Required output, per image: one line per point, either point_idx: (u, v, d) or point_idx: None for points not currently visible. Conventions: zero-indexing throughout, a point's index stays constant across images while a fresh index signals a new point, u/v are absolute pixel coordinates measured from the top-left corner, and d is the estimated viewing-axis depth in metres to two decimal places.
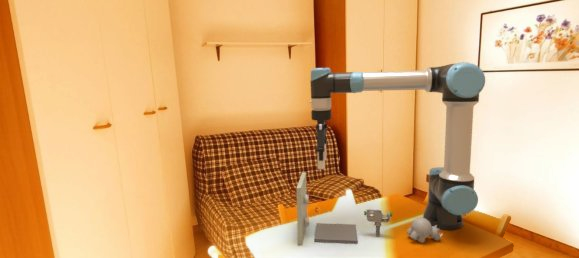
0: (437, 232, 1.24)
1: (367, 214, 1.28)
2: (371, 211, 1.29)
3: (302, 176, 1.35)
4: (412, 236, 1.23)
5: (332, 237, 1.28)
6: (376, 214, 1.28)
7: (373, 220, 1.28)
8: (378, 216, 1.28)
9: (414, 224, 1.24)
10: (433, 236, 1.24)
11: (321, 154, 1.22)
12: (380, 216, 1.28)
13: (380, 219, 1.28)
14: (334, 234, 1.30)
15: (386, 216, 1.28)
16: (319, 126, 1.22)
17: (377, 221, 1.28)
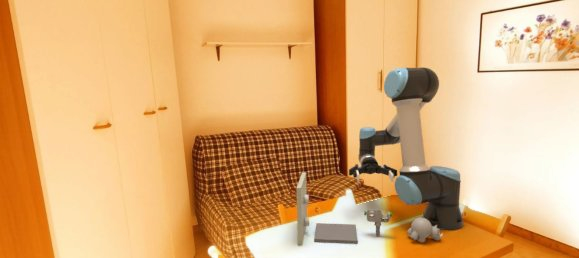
0: (437, 232, 1.24)
1: (367, 214, 1.28)
2: (371, 211, 1.29)
3: (302, 176, 1.35)
4: (412, 236, 1.23)
5: (332, 237, 1.28)
6: (376, 214, 1.28)
7: (373, 220, 1.28)
8: (378, 216, 1.28)
9: (415, 224, 1.24)
10: (433, 236, 1.24)
11: (353, 173, 1.44)
12: (380, 216, 1.28)
13: (380, 219, 1.28)
14: (334, 234, 1.30)
15: (386, 216, 1.28)
16: None
17: (377, 221, 1.28)
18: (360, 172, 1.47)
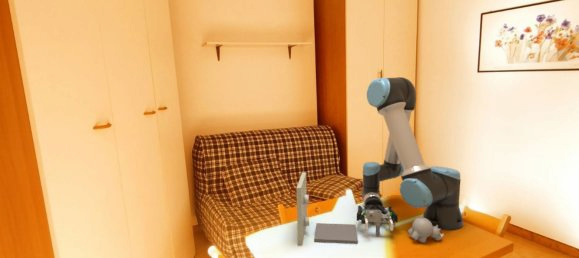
0: (438, 232, 1.24)
1: (367, 214, 1.28)
2: (371, 211, 1.29)
3: (302, 176, 1.35)
4: (413, 236, 1.23)
5: (332, 237, 1.28)
6: (376, 214, 1.28)
7: (373, 220, 1.28)
8: (378, 216, 1.28)
9: (415, 225, 1.24)
10: (434, 236, 1.24)
11: (361, 219, 1.31)
12: (380, 216, 1.28)
13: (380, 219, 1.28)
14: (334, 234, 1.30)
15: (386, 216, 1.28)
16: None
17: (377, 221, 1.28)
18: None
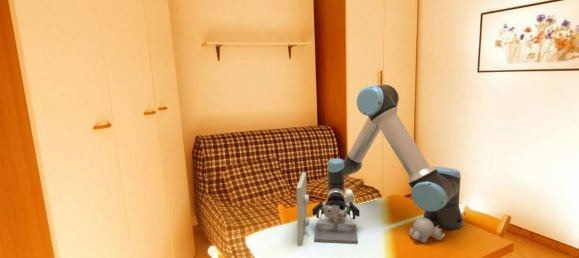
0: (439, 232, 1.24)
1: (324, 210, 1.31)
2: (329, 207, 1.31)
3: (302, 176, 1.35)
4: (414, 236, 1.23)
5: (332, 237, 1.28)
6: (333, 210, 1.30)
7: (330, 216, 1.31)
8: (335, 212, 1.30)
9: (417, 225, 1.24)
10: (435, 236, 1.24)
11: (316, 213, 1.34)
12: (337, 212, 1.30)
13: (337, 215, 1.30)
14: (334, 234, 1.30)
15: (343, 212, 1.30)
16: None
17: (334, 217, 1.30)
18: None
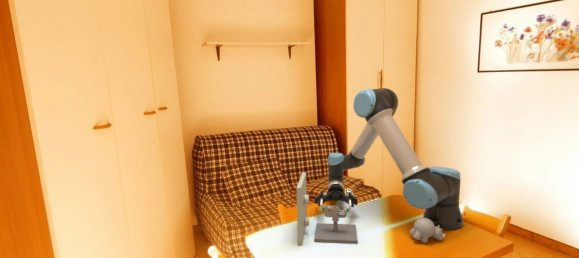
0: (440, 232, 1.24)
1: (324, 209, 1.31)
2: (329, 207, 1.32)
3: (302, 176, 1.35)
4: (415, 236, 1.23)
5: (332, 237, 1.28)
6: (333, 209, 1.30)
7: (330, 215, 1.31)
8: (335, 211, 1.30)
9: (417, 225, 1.24)
10: (436, 236, 1.24)
11: (318, 202, 1.46)
12: (337, 211, 1.30)
13: (337, 214, 1.30)
14: (334, 234, 1.30)
15: (343, 211, 1.30)
16: None
17: (334, 216, 1.30)
18: (325, 200, 1.50)
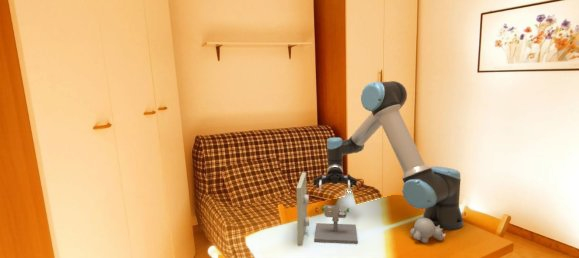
0: (440, 232, 1.24)
1: (324, 210, 1.31)
2: (329, 207, 1.31)
3: (302, 176, 1.35)
4: (415, 236, 1.23)
5: (332, 237, 1.28)
6: (333, 210, 1.30)
7: (330, 215, 1.31)
8: (335, 211, 1.30)
9: (418, 225, 1.24)
10: (436, 236, 1.24)
11: (317, 183, 1.46)
12: (337, 212, 1.30)
13: (337, 214, 1.30)
14: (334, 234, 1.30)
15: (343, 212, 1.30)
16: None
17: (334, 216, 1.30)
18: (324, 182, 1.50)
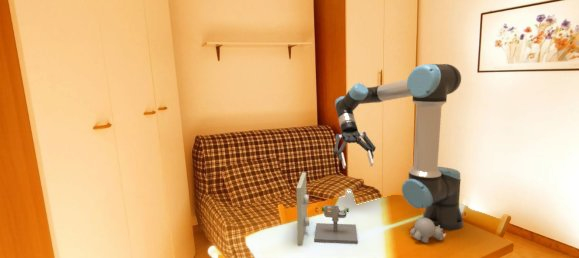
0: (440, 232, 1.24)
1: (324, 210, 1.31)
2: (328, 207, 1.31)
3: (302, 176, 1.35)
4: (416, 236, 1.23)
5: (332, 237, 1.28)
6: (333, 210, 1.30)
7: (330, 216, 1.31)
8: (335, 212, 1.30)
9: (418, 225, 1.24)
10: (436, 236, 1.24)
11: (338, 155, 1.48)
12: (337, 212, 1.30)
13: (337, 215, 1.30)
14: (334, 234, 1.30)
15: (343, 212, 1.30)
16: None
17: (334, 217, 1.30)
18: (343, 148, 1.51)
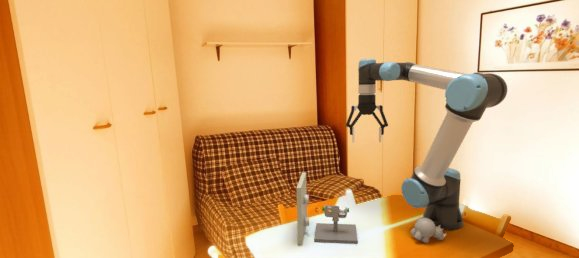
0: (441, 232, 1.24)
1: (325, 209, 1.31)
2: (329, 207, 1.31)
3: (302, 176, 1.35)
4: (416, 236, 1.23)
5: (332, 237, 1.28)
6: (333, 210, 1.30)
7: (330, 215, 1.31)
8: (335, 212, 1.30)
9: (418, 225, 1.24)
10: (437, 236, 1.24)
11: None
12: (337, 212, 1.30)
13: (337, 215, 1.30)
14: (334, 234, 1.30)
15: (343, 212, 1.30)
16: (351, 107, 1.54)
17: (334, 216, 1.30)
18: (356, 121, 1.55)
